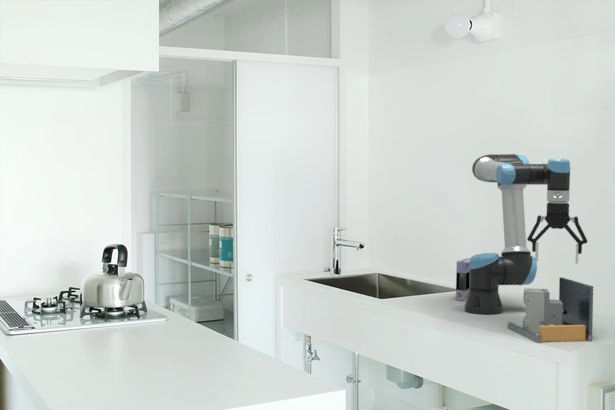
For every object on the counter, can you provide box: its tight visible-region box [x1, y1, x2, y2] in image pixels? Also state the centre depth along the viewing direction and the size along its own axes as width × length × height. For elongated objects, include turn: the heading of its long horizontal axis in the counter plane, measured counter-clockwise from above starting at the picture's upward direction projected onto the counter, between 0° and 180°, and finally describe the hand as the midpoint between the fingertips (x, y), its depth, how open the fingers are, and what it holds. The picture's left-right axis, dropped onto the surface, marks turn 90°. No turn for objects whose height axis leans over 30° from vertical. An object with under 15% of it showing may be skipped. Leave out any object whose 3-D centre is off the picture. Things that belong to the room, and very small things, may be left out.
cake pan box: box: [455, 257, 471, 302], centre depth 346 cm, size 19×5×18 cm, turn 147°
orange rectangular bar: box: [539, 325, 586, 343], centre depth 259 cm, size 2×16×5 cm, turn 98°
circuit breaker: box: [522, 287, 567, 334], centre depth 272 cm, size 8×14×15 cm, turn 78°
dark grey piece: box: [507, 277, 594, 344], centre depth 270 cm, size 25×21×18 cm
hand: (556, 262), depth 274 cm, fingers open, 13 cm apart
